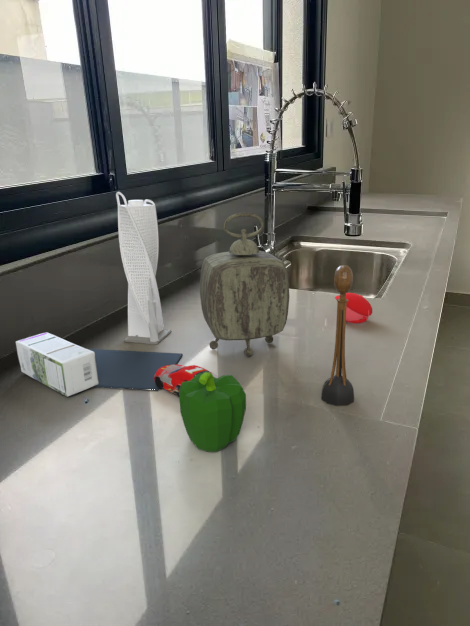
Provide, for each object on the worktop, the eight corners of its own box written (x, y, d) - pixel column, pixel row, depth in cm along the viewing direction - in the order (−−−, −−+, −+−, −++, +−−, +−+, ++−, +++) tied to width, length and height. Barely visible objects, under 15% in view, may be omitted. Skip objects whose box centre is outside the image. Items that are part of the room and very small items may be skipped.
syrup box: (95, 350, 76) (47, 330, 85) (60, 363, 72) (14, 340, 81) (99, 384, 78) (52, 361, 87) (65, 398, 73) (19, 372, 83)
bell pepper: (210, 416, 69) (207, 349, 65) (258, 436, 64) (257, 365, 60) (165, 443, 62) (160, 371, 59) (214, 468, 57) (211, 390, 54)
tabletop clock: (275, 339, 96) (277, 208, 88) (291, 357, 88) (295, 214, 80) (202, 347, 93) (196, 211, 85) (211, 366, 84) (206, 218, 76)
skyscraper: (117, 340, 97) (102, 193, 88) (136, 327, 104) (124, 189, 95) (157, 344, 94) (146, 193, 86) (173, 330, 102) (164, 190, 93)
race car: (148, 384, 77) (146, 360, 76) (174, 373, 81) (174, 350, 80) (206, 414, 69) (206, 388, 68) (233, 400, 73) (233, 376, 71)
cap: (372, 317, 107) (374, 291, 105) (370, 327, 102) (372, 298, 100) (335, 314, 110) (336, 288, 108) (331, 323, 104) (332, 295, 102)
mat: (49, 384, 79) (49, 382, 79) (88, 350, 92) (88, 348, 92) (158, 391, 76) (158, 388, 76) (182, 355, 89) (182, 353, 89)
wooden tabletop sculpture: (322, 386, 77) (327, 259, 70) (353, 388, 76) (361, 259, 69) (320, 404, 71) (326, 268, 65) (354, 407, 70) (362, 269, 64)
